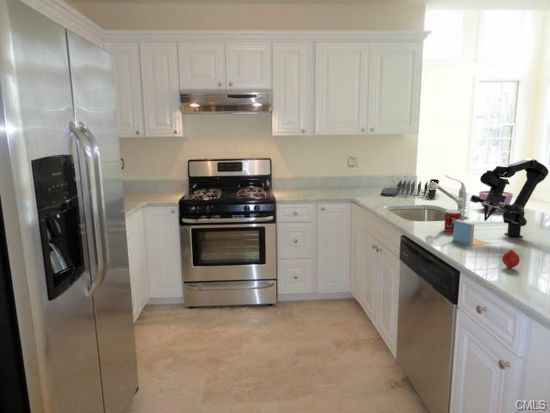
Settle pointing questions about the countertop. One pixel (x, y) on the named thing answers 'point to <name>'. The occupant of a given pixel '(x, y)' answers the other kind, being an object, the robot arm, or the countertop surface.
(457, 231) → the tile
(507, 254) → the onion
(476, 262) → the countertop surface
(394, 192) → the dish rack
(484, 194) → the bowl of food
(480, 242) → the mat
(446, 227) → the canned food
